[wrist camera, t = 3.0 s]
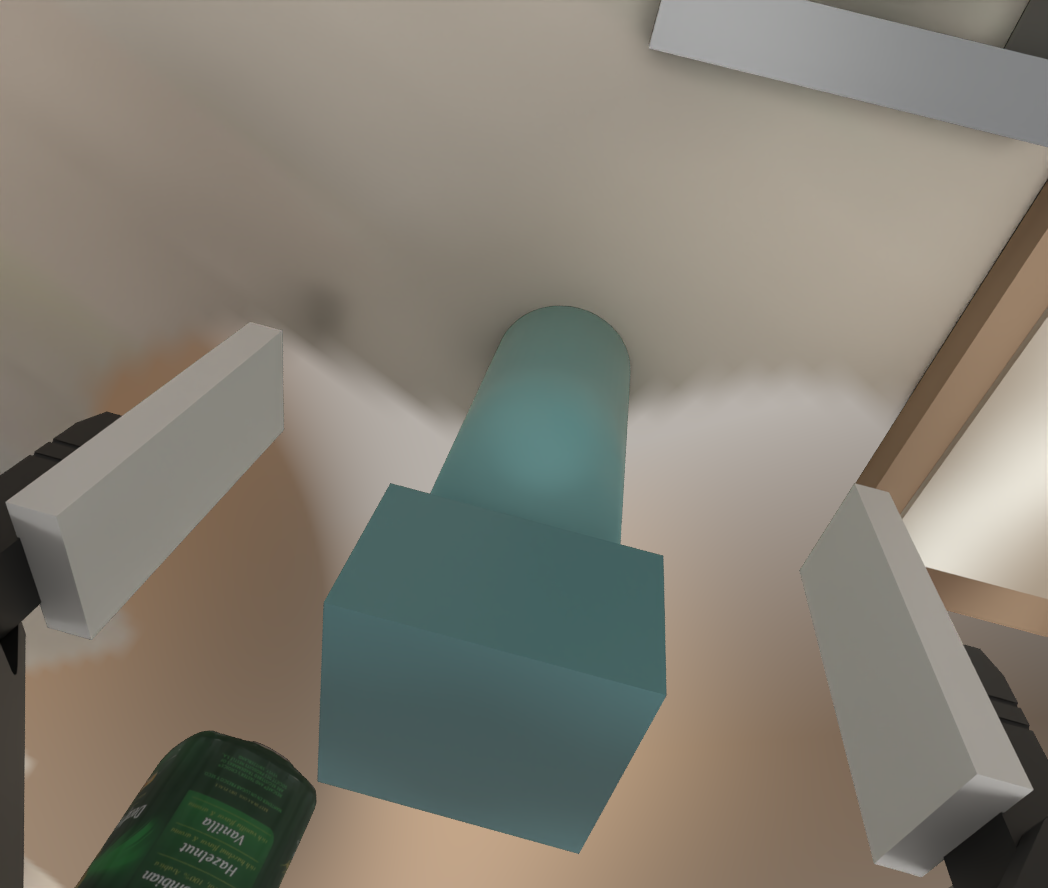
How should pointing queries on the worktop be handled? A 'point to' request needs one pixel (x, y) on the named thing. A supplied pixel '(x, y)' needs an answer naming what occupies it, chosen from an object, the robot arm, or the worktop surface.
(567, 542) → the teal square-headed peg
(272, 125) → the worktop surface
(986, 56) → the button housing
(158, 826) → the coffee jar
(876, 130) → the worktop surface
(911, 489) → the clipboard
